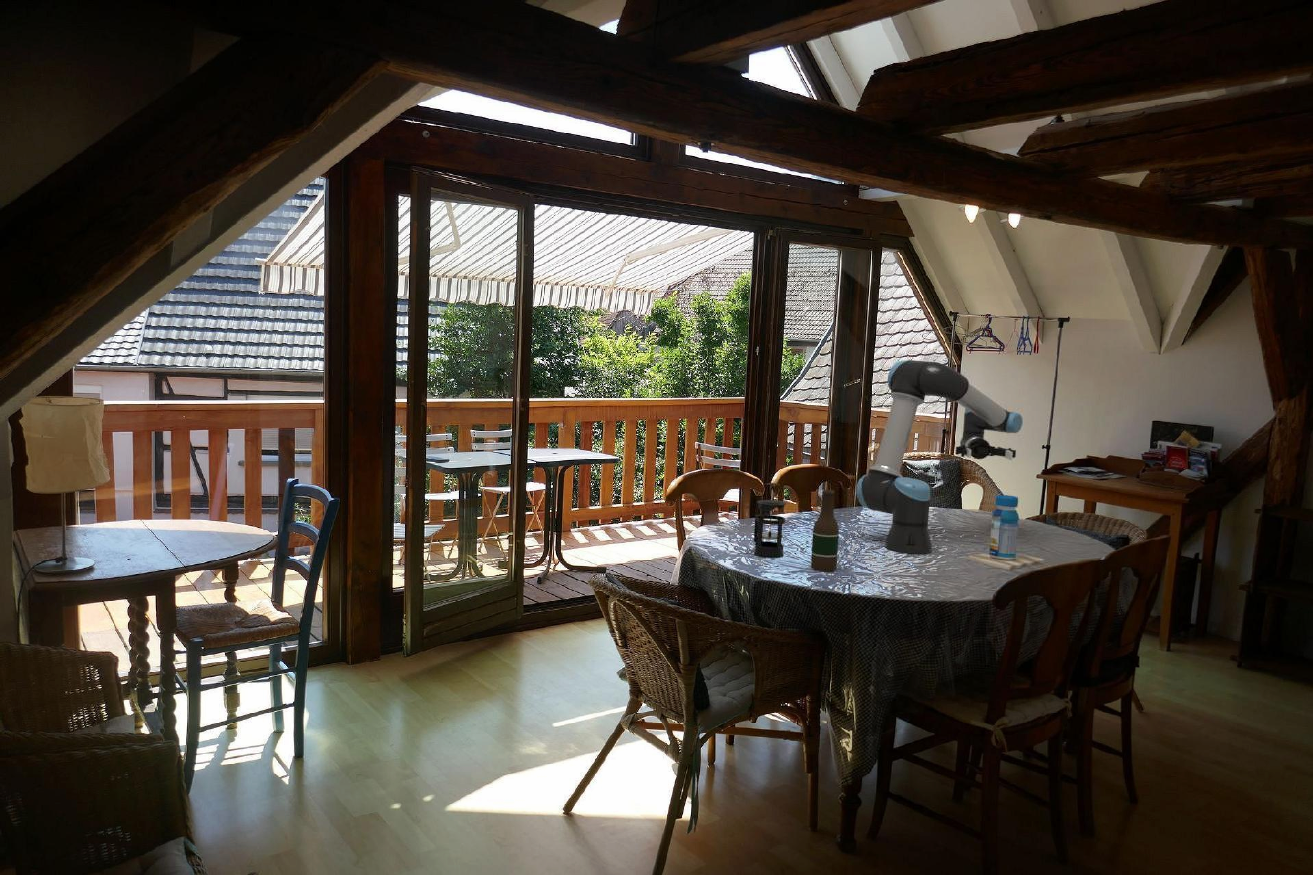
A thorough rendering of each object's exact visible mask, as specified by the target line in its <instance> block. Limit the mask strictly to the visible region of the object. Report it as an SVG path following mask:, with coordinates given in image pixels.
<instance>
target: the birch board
mask: <svg viewBox="0 0 1313 875" xmlns="http://www.w3.org/2000/svg"><path fill="white" fill-rule="evenodd" d="M966 558H967V561H971V562H975V563H979V564H984V565H986V566H992V567H995V568H999V569H1004V570H1007V571H1010V570H1016V569H1020V568H1024V567H1029V566H1035V565H1039V564H1044V563H1045V559H1043V558H1039V557H1035V556H1030V555H1025V554H1020V553H1017V552H1016V558H1015V559H1013V560H1003V559H996V558H993V557H990V556H989V552H986V553H980V554H974V555H970V556H969V555H968V556H967V557H966Z"/></svg>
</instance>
